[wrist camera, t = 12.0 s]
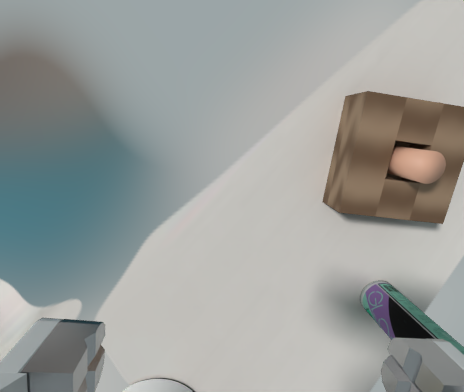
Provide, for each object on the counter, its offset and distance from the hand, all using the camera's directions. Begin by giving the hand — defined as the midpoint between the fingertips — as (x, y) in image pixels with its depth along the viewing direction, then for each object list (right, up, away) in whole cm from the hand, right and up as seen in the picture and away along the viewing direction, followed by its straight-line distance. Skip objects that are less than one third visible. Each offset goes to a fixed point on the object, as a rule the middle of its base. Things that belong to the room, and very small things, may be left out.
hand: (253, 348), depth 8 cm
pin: (+20, +9, +28) cm, 36 cm away
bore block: (+20, +9, +30) cm, 37 cm away
